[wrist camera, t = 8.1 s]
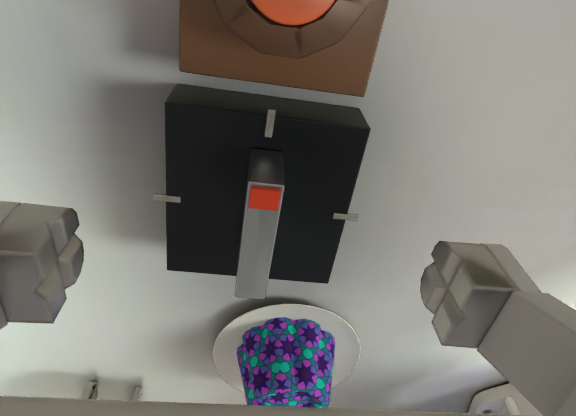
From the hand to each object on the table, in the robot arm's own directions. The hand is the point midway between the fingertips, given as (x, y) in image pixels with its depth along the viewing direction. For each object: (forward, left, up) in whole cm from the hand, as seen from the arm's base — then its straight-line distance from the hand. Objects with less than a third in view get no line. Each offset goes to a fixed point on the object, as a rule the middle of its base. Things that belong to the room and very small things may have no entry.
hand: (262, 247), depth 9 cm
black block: (-6, 0, -15) cm, 16 cm away
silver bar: (-6, 0, -11) cm, 13 cm away
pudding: (-22, -4, -15) cm, 27 cm away
